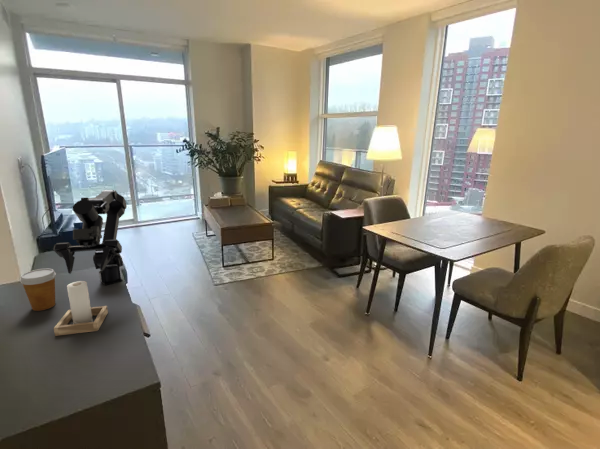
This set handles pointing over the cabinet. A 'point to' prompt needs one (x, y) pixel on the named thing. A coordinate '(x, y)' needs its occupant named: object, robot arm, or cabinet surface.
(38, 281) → the disposable coffee cup
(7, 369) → the cabinet surface
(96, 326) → the oak holder
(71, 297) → the paper roll
